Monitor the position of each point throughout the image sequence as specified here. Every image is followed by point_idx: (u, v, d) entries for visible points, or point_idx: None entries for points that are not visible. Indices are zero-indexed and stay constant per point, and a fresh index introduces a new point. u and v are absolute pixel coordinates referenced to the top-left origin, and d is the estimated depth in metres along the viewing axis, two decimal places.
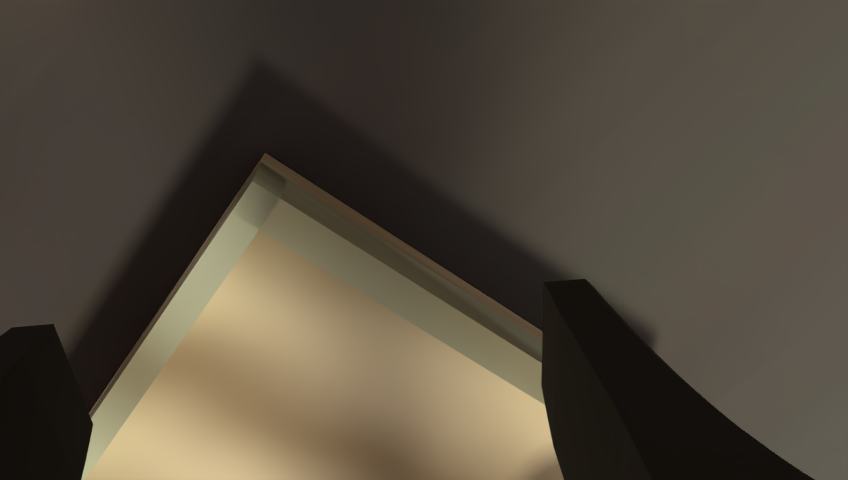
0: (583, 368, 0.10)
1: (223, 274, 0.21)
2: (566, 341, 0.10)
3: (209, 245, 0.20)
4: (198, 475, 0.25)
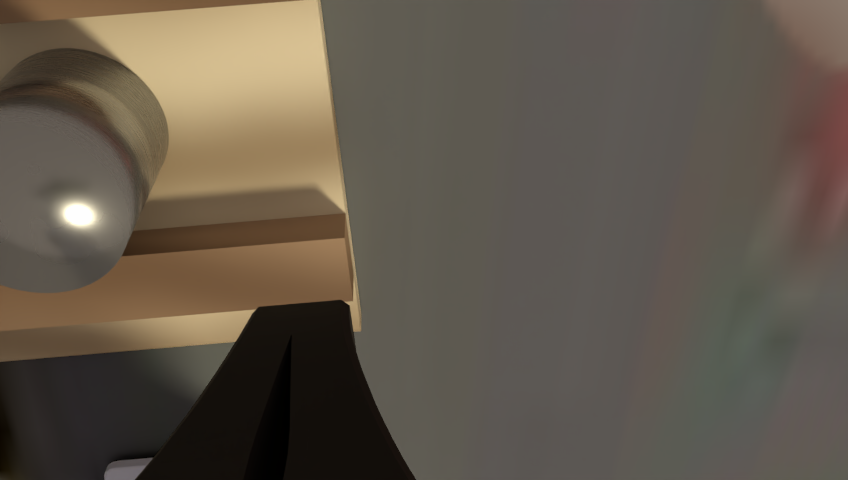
0: None
1: None
2: None
3: None
4: None
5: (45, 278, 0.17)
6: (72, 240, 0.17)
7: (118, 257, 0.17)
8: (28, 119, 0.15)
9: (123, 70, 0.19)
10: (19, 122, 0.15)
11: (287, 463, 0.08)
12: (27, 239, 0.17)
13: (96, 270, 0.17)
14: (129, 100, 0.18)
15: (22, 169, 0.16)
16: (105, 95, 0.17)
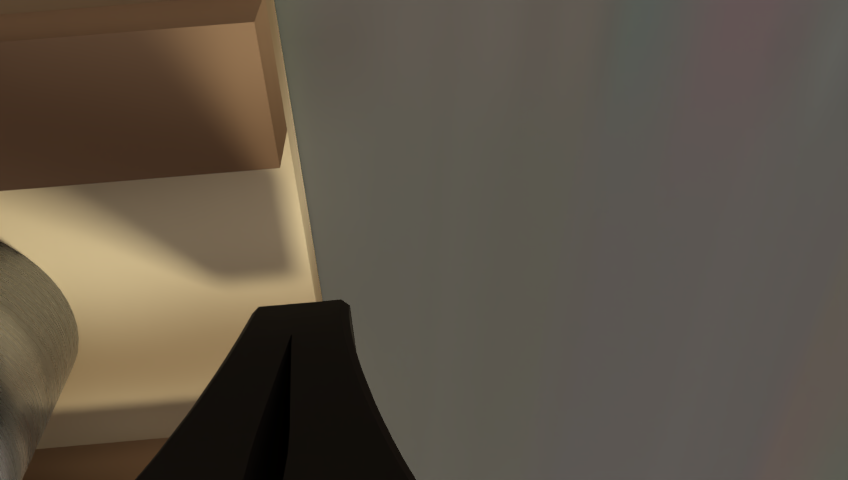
0: None
1: None
2: None
3: None
4: None
5: None
6: None
7: None
8: None
9: (1, 253, 0.13)
10: None
11: (287, 463, 0.08)
12: None
13: None
14: (3, 308, 0.12)
15: None
16: None
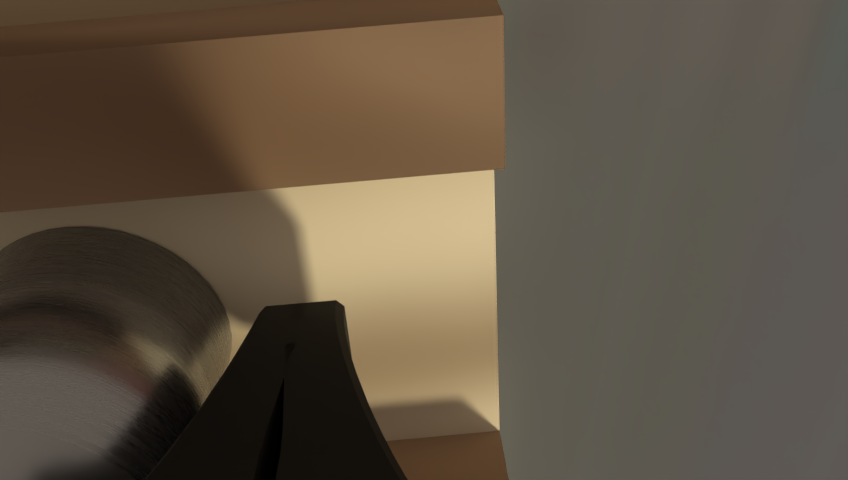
0: None
1: None
2: None
3: None
4: None
5: None
6: None
7: None
8: (10, 418, 0.09)
9: (166, 259, 0.12)
10: None
11: (279, 464, 0.08)
12: None
13: None
14: (176, 317, 0.11)
15: None
16: (140, 322, 0.11)
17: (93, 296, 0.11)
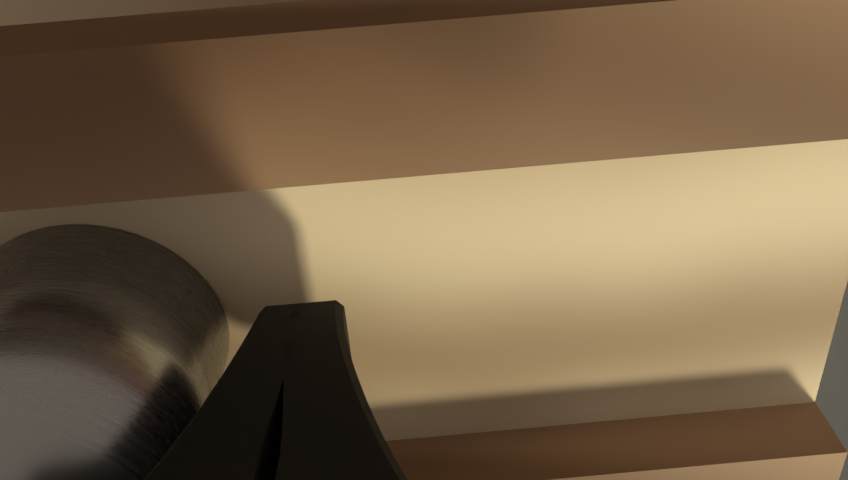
0: None
1: None
2: None
3: None
4: None
5: None
6: None
7: None
8: (12, 415, 0.09)
9: (165, 258, 0.12)
10: None
11: (279, 464, 0.08)
12: None
13: None
14: (175, 316, 0.11)
15: None
16: (140, 320, 0.11)
17: (93, 294, 0.11)
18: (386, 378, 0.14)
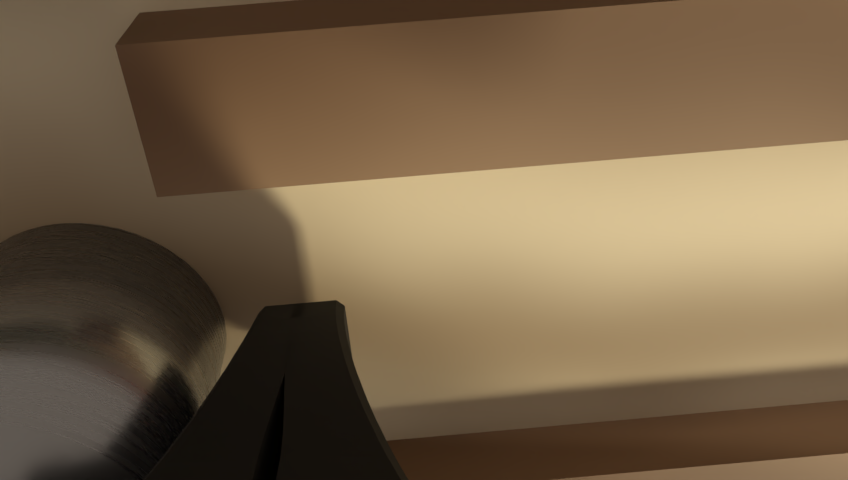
0: None
1: None
2: None
3: None
4: None
5: None
6: None
7: None
8: (10, 414, 0.09)
9: (163, 257, 0.12)
10: None
11: (280, 464, 0.08)
12: None
13: None
14: (174, 316, 0.11)
15: None
16: (138, 320, 0.11)
17: (91, 293, 0.11)
18: (547, 364, 0.14)
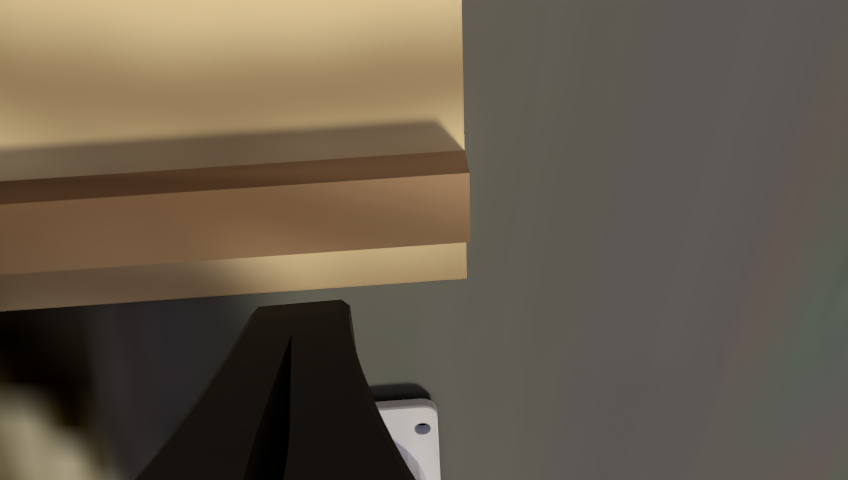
0: None
1: None
2: None
3: None
4: None
5: None
6: None
7: None
8: None
9: None
10: None
11: (287, 463, 0.08)
12: None
13: None
14: None
15: None
16: None
17: None
18: (145, 115, 0.20)
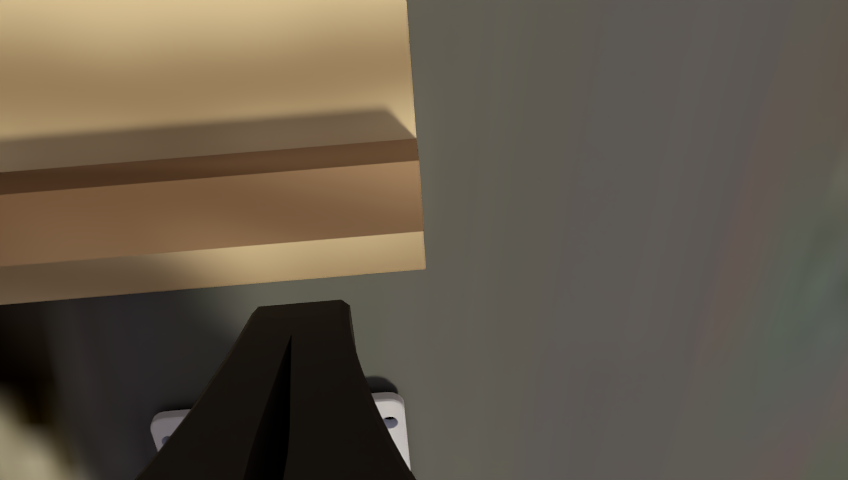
0: None
1: None
2: None
3: None
4: None
5: None
6: None
7: None
8: None
9: None
10: None
11: (287, 463, 0.08)
12: None
13: None
14: None
15: None
16: None
17: None
18: (91, 107, 0.19)
